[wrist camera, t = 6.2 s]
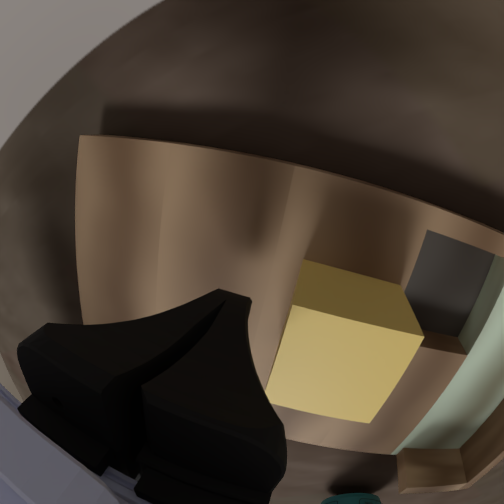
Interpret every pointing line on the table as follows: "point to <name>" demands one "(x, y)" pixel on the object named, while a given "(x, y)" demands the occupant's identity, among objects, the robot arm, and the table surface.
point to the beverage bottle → (353, 499)
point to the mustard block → (342, 344)
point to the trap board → (286, 275)
